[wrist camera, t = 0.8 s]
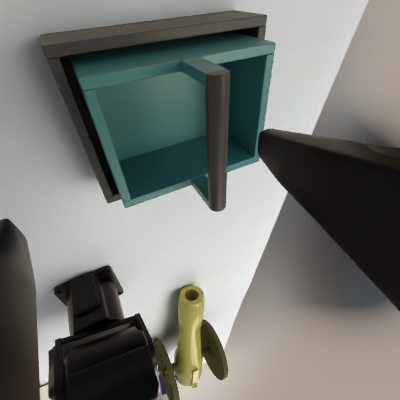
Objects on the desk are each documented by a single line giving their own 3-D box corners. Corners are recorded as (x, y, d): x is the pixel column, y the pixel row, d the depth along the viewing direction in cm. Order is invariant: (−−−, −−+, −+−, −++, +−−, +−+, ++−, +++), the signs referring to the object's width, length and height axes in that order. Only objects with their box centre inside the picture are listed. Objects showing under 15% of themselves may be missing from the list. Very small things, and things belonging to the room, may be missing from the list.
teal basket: (223, 132, 25) (287, 183, 19) (108, 166, 22) (139, 244, 15) (225, 29, 19) (321, 53, 13) (67, 53, 16) (89, 103, 9)
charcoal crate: (229, 137, 27) (251, 154, 24) (99, 177, 22) (107, 203, 20) (235, 10, 19) (267, 14, 16) (40, 34, 15) (40, 45, 12)
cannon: (153, 295, 39) (182, 371, 31) (216, 272, 44) (254, 332, 37) (151, 357, 54) (170, 418, 47) (198, 334, 59) (222, 386, 52)
